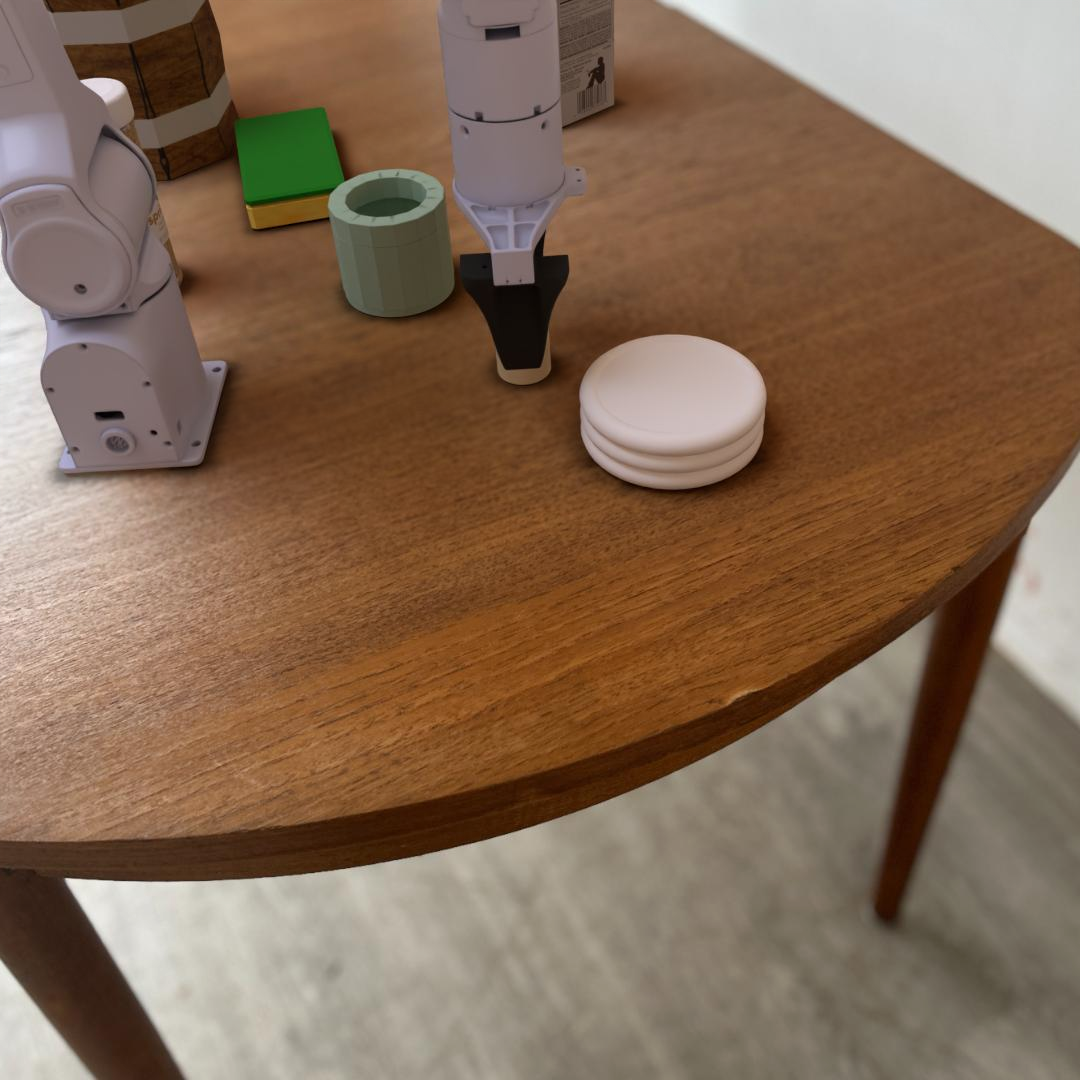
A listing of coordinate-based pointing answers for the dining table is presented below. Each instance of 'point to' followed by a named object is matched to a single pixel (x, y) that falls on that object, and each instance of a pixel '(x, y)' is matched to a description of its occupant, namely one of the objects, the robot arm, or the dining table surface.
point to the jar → (392, 242)
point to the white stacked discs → (672, 411)
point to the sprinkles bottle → (123, 118)
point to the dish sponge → (287, 166)
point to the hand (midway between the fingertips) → (521, 326)
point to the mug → (157, 73)
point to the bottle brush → (527, 370)
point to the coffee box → (585, 57)
